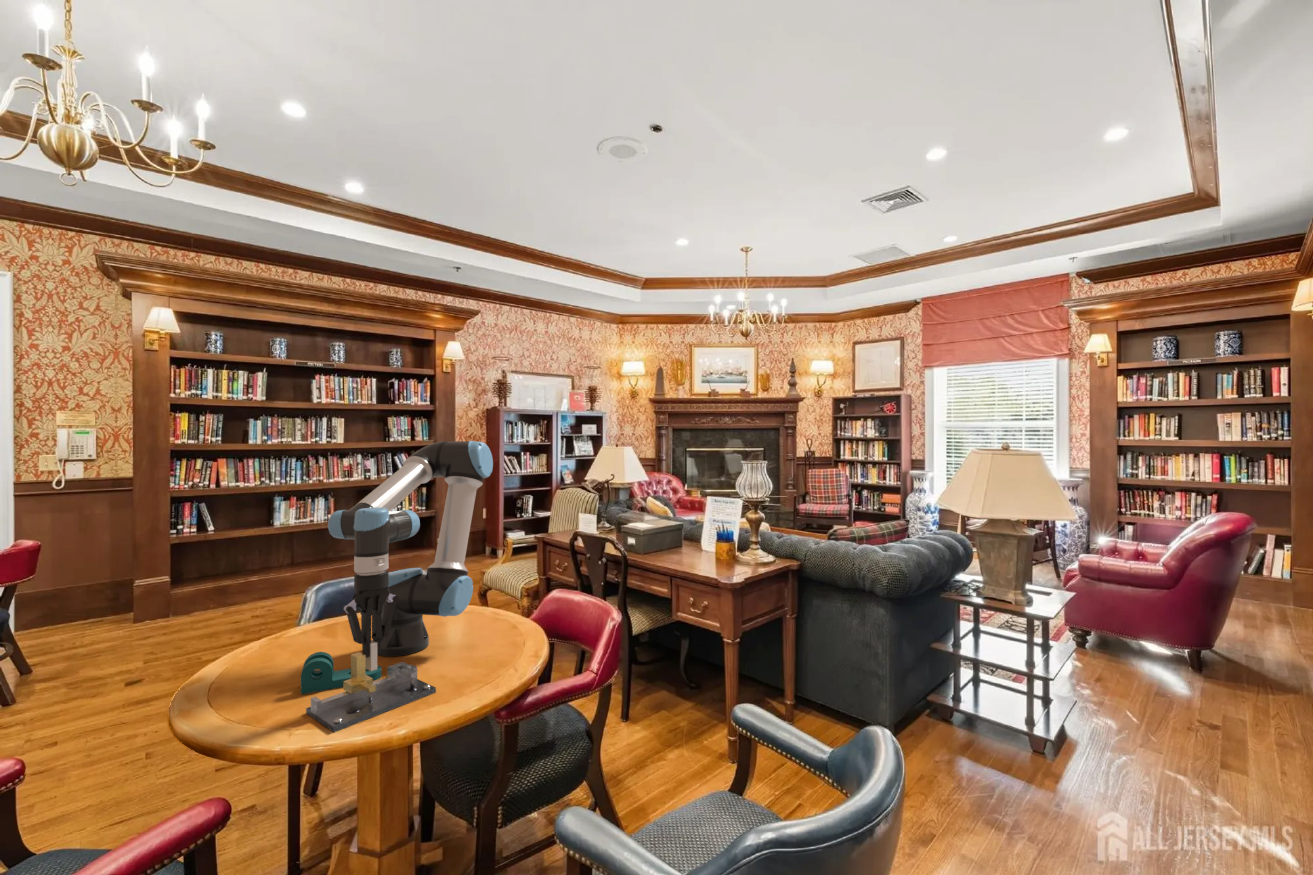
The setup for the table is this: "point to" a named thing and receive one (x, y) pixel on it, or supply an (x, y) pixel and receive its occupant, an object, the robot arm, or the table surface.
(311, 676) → the bracket
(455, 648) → the table surface
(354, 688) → the sliding leg
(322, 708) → the grey long bar piece
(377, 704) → the bolt plate
